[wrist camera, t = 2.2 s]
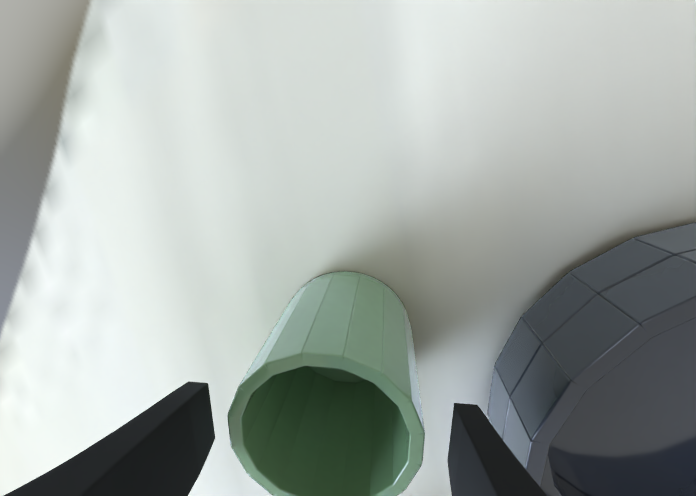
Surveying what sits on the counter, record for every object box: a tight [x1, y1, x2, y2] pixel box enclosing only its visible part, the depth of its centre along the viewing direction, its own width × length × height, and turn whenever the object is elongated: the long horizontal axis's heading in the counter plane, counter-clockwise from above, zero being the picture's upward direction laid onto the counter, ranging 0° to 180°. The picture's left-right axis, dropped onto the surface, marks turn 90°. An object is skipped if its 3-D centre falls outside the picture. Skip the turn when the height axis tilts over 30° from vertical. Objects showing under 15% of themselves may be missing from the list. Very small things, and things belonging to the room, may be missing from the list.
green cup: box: [228, 271, 425, 496], centre depth 13 cm, size 5×5×6 cm
